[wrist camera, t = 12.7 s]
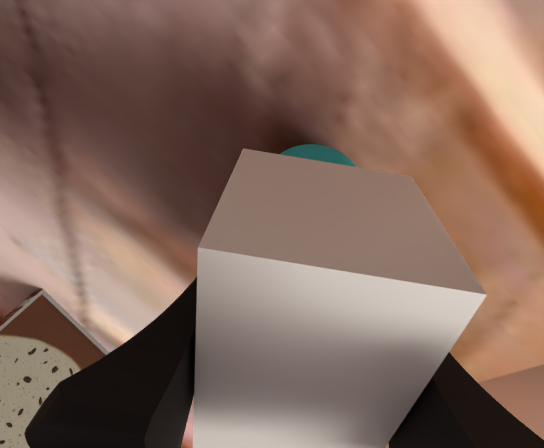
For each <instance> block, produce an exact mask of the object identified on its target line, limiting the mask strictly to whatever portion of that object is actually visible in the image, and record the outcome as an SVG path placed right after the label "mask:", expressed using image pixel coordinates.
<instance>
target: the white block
mask: <svg viewBox="0 0 544 448" xmlns="http://www.w3.org/2000/svg"><path fill="white" fill-rule="evenodd" d="M486 296H487V294H486V292H485V291H484V289H483V287H482V286H481V284H480V283H479V281H478V280H477V278H476V276H475V275H474V273H473V272H472V270H471V269H470V267H469V266H468V264H467V262H466V261H465V259H464V258H463V256H462V255H461V253H460V251H459V250H458V248H457V247H456V245H455V244H454V242H453V241H452V239H451V237H450V236H449V234H448V233H447V231H446V230H445V228H444V226H443V225H442V223H441V222H440V220H439V219H438V217H437V215H436V214H435V212H434V211H433V209H432V208H431V206H430V205H429V203H428V201H427V200H426V198H425V197H424V195H423V194H422V192H421V190H420V189H419V187H418V186H417V184H416V183H415V181H414V180H413V178H412V176H408V175H402V174H395V173H389V172H383V171H377V170H371V169H365V168H359V167H353V166H347V165H341V164H335V163H329V162H323V161H317V160H310V159H304V158H298V157H292V156H286V155H280V154H274V153H268V152H262V151H256V150H250V149H244V148H243V150H242V152H241V154H240V156H239V159H238V161H237V163H236V165H235V167H234V170H233V172H232V174H231V176H230V178H229V181H228V183H227V185H226V187H225V189H224V191H223V194H222V196H221V198H220V200H219V202H218V205H217V207H216V209H215V211H214V213H213V216H212V218H211V220H210V222H209V224H208V227H207V229H206V231H205V233H204V235H203V237H202V240H201V242H200V244H199V246H198V266H197V305H196V345H195V384H194V424H193V448H385V447H386V445H387V444H388V442H389V441H390V439H391V438H392V436H393V435H394V433H395V432H396V430H397V429H398V427H399V426H400V424H401V423H402V421H403V420H404V418H405V417H406V415H407V414H408V412H409V411H410V409H411V408H412V406H413V405H414V403H415V402H416V400H417V399H418V397H419V396H420V394H421V393H422V391H423V390H424V388H425V387H426V385H427V384H428V382H429V381H430V379H431V378H432V376H433V375H434V373H435V372H436V370H437V369H438V367H439V366H440V364H441V363H442V361H443V360H444V358H445V357H446V356H447V354H448V353H449V351H450V350H451V348H452V347H453V345H454V344H455V342H456V341H457V339H458V338H459V336H460V335H461V333H462V332H463V330H464V329H465V327H466V326H467V324H468V323H469V321H470V320H471V318H472V317H473V315H474V314H475V312H476V311H477V309H478V308H479V306H480V305H481V303H482V302H483V300H484V299H485V297H486Z"/></svg>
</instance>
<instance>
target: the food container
mask: <svg viewBox="0 0 544 448" xmlns="http://www.w3.org/2000/svg"><path fill="white" fill-rule="evenodd" d="M107 354H109V352H108V351H107V350H106V349H105V348H104V347H103V346H102V345H101V344H100V343H99V342H98V341H96V340H95V339H94V338H93V337H92V336H91V335H90V334H89V333H88V332H87V331H86V330H85V329H84V328H83V327H82V326H81V325H80V324H79V323H78V322H77V321H76V320H75V319H74V318H73V317H72V316H71V315H69V314H68V313H67V312H66V311H65V310H64V309H63V308H62V307H61V306H60V305H59V304H58V303H57V302H56V301H55V300H54V299H53V298H52V297H51V296H50V295H49V294H48V293H47V292H46V291H45V290H44V289H41V290H39V291H37V292H35V293H32V294H31V295H30V296H29V297H28V298H27V299H26V300H24V301H23V302H22V303H21V304H20V305H19V306H17V307H16V308H15V309H14V310H13V311H12V312H11V313H9V314H8V315H7V316H6V317H5V318H4V319H2V320H1V321H0V448H30V447H29V445H28V444H27V442H26V438H25V435H24V433H25V430H26V428H27V426H28V425H29V423H30V422H31V420H32V419H33V417H34V416H35V414H36V412H37V411H38V409H39V408H40V406H41V405H42V403H43V402H44V401H45V399H46V398H47V397H48V396H49V394H50V393H51V392H52V391H53V389H54V388H55V387H56V386H57V385H58V383H59V382H60V381H62V380H64V379H66V378H68V377H70V376H71V375H73V374H75V373H77V372H79V371H80V370H82V369H84V368H86V367H88V366H89V365H91V364H93V363H95V362H96V361H98V360H99V359H101V358H103V357H104V356H106V355H107Z"/></svg>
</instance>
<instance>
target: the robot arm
mask: <svg viewBox="0 0 544 448" xmlns="http://www.w3.org/2000/svg"><path fill="white" fill-rule="evenodd" d="M196 305H197V277H196V279H195V280H194V281H193V282H192V283H191V284H190V285H189V287H188V288H187V289H186V290H185V291H184V292H183V293H182V294H181V295H180V296H179V297H178V298H177V299H176V300H175V301H174V302H173V303H172V304H171V305H170V306H169V307H168V308H167V309H166V310H165V311H164V312H163V313H162V314H161V315H160V316H158V317H157V318H156V319H155V320H154V321H153V322H151V323H150V324H149V325H148V326H147V327H145V328H144V329H143V330H141V331H140V332H139V333H138V334H136V335H135V336H134V337H132V338H131V339H130V340H128V341H127V342H125V343H124V344H123V345H121V346H120V347H118V348H116V349H115V350H113V351H112V352H110V353H109V354H107V355H106V356H104V357H103V358H101V359H99V360H98V361H96V362H95V363H93V364H91V365H89V366H88V367H86V368H84V369H82V370H80V371H79V372H77V373H75V374H73V375H71V376H70V377H68V378H66V379H64V380H62V381H60V382H59V383H58V385H57V386H56V387H55V388H54V389H53V391H52V392H51V393H50V394H49V396H48V397H47V398H46V399H45V401H44V402H43V403H42V405H41V406H40V408H39V409H38V411H37V412H36V414H35V416H34V417H33V419H32V420H31V422H30V423H29V425H28V426H27V428H26V430H25V433H24V435H25V438H26V442H27V444H28V445H29V447H30V448H181V444H182V439H183V435H184V431H185V427H186V423H187V419H188V415H189V411H190V407H191V404H192V400H193V396H194V384H195V345H196ZM389 448H544V440H543V439H541V438H540V437H539V436H538V435H536V434H535V433H534V432H533V431H531V430H530V429H529V428H528V427H526V426H525V425H524V424H523V423H521V422H520V421H519V420H518V419H517V418H516V417H514V416H513V415H512V414H511V413H509V412H508V411H507V410H506V409H505V408H504V407H503V406H502V405H500V404H499V403H498V402H497V401H496V400H495V399H494V398H493V397H492V396H491V395H490V394H489V393H487V392H486V391H485V390H484V389H483V388H482V387H481V386H480V385H479V384H478V383H477V382H476V381H475V380H474V379H473V378H472V377H471V376H470V375H469V374H468V373H467V372H466V371H465V370H464V368H463V367H462V366H461V365H460V364H459V363H458V362H457V361H456V360H455V359H454V357H453V356H452V355H451V354H450V353H448V354H447V356H446V357H445V358H444V360H443V361H442V363H441V364H440V366H439V367H438V369H437V370H436V372H435V373H434V375H433V376H432V378H431V379H430V381H429V382H428V384H427V385H426V387H425V388H424V390H423V391H422V393H421V394H420V396H419V397H418V399H417V400H416V402H415V403H414V405H413V406H412V408H411V409H410V411H409V412H408V414H407V415H406V417H405V418H404V420H403V421H402V423H401V424H400V426H399V427H398V429H397V430H396V432H395V433H394V435H393V436H392V438H391V439H390V441H389Z"/></svg>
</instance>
